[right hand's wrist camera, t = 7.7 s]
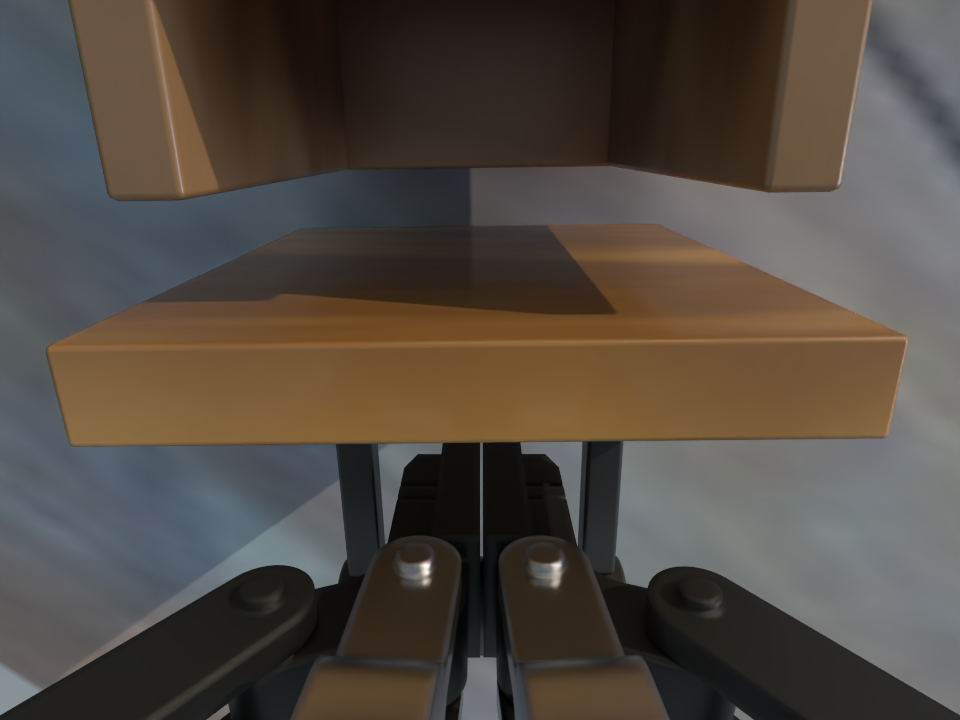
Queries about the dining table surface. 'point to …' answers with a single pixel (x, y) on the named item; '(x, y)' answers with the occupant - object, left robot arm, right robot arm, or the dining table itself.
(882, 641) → the dining table surface
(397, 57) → the drawer
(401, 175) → the dining table surface
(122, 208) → the dining table surface
